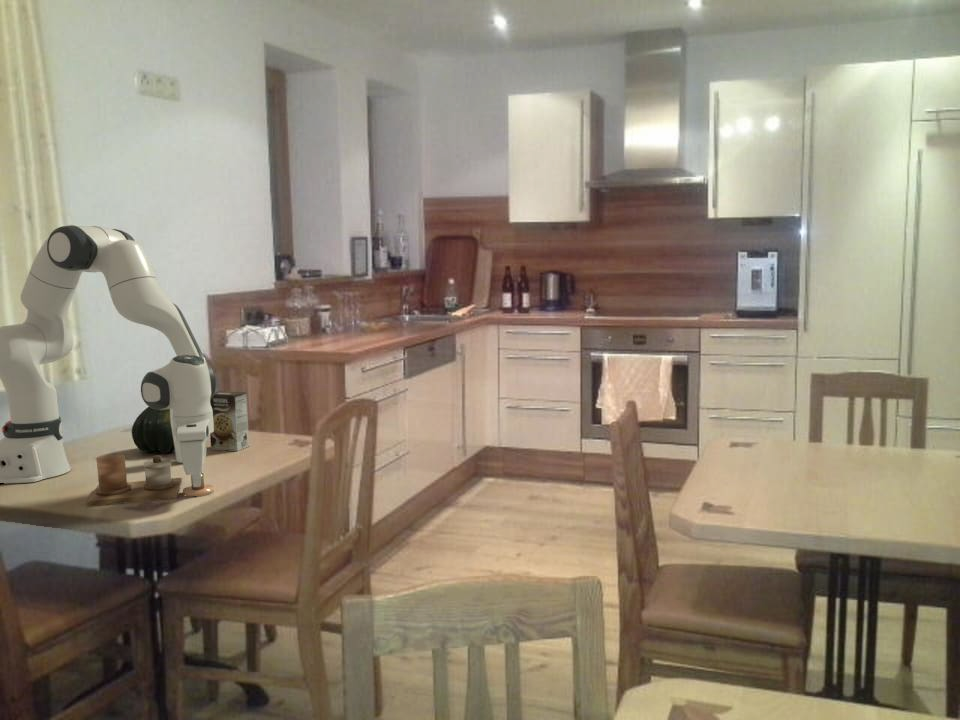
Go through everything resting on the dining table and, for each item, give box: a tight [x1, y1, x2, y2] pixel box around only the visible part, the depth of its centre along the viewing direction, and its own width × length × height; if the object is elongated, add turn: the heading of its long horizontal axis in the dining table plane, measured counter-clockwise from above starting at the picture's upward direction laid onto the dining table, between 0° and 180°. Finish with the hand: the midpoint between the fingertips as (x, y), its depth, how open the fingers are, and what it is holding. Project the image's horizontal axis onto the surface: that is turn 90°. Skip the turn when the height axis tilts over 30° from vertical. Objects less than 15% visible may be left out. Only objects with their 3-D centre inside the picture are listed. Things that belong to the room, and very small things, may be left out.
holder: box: [86, 453, 183, 507], centre depth 201 cm, size 19×14×9 cm
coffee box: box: [209, 390, 250, 452], centre depth 245 cm, size 9×6×16 cm
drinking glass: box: [170, 409, 183, 464], centre depth 231 cm, size 7×7×15 cm
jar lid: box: [182, 472, 215, 497], centre depth 201 cm, size 7×7×4 cm
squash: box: [131, 406, 175, 455], centre depth 245 cm, size 14×15×15 cm
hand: (197, 483), depth 201 cm, fingers closed on jar lid, 3 cm apart
